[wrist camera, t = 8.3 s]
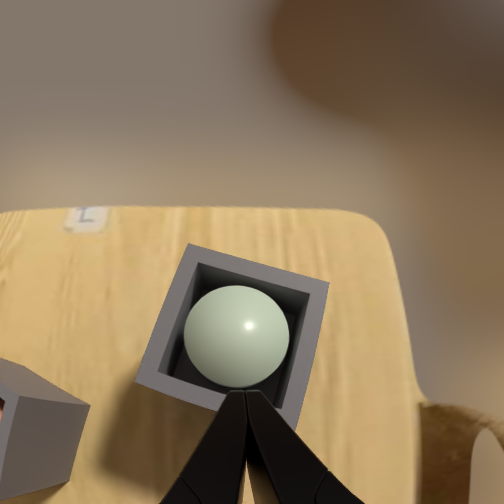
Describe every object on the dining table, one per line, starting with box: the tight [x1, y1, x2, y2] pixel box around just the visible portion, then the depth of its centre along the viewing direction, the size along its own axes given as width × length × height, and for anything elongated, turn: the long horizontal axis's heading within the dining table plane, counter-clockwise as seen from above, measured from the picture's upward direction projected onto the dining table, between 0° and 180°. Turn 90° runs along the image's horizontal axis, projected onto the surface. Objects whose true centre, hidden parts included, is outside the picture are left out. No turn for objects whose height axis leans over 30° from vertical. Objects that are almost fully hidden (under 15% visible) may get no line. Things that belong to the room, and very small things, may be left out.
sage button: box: [184, 286, 289, 389], centre depth 15 cm, size 5×5×2 cm
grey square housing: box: [0, 358, 90, 500], centre depth 13 cm, size 7×7×9 cm
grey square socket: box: [135, 243, 329, 431], centre depth 17 cm, size 7×7×9 cm
